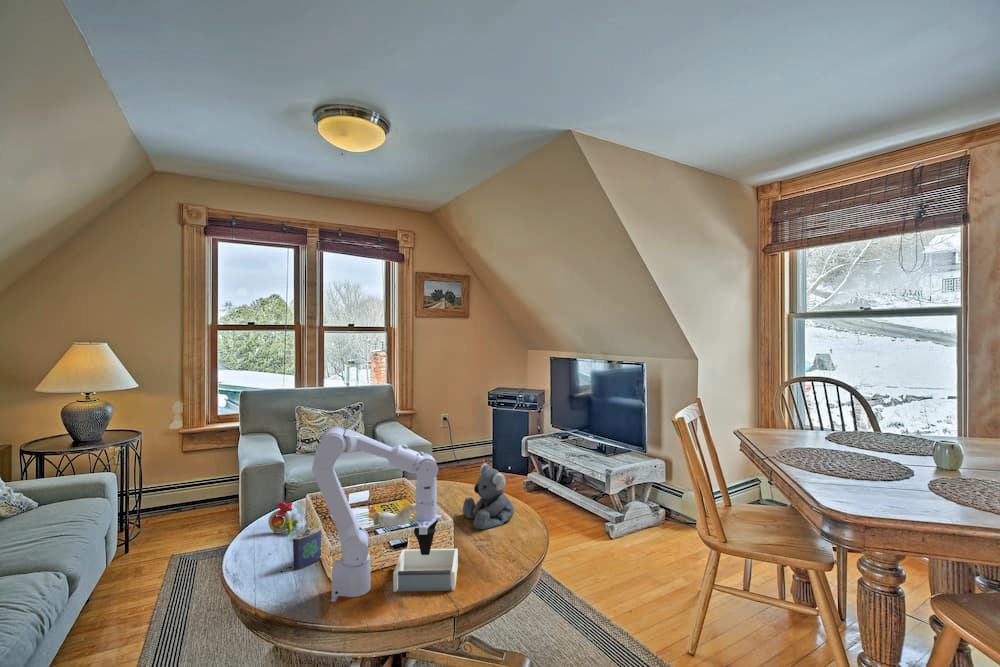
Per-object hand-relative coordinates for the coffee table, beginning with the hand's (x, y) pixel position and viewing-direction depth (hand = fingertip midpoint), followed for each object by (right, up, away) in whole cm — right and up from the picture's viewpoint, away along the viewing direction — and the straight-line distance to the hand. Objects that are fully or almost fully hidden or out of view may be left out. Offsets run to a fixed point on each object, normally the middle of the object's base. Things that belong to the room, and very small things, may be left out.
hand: (426, 549), depth 128 cm
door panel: (0, -8, -5) cm, 10 cm away
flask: (-37, -10, +12) cm, 40 cm away
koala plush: (+17, -10, +44) cm, 49 cm away
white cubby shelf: (0, -9, +1) cm, 9 cm away
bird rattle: (-55, -10, +33) cm, 65 cm away
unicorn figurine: (-13, -10, +28) cm, 32 cm away
